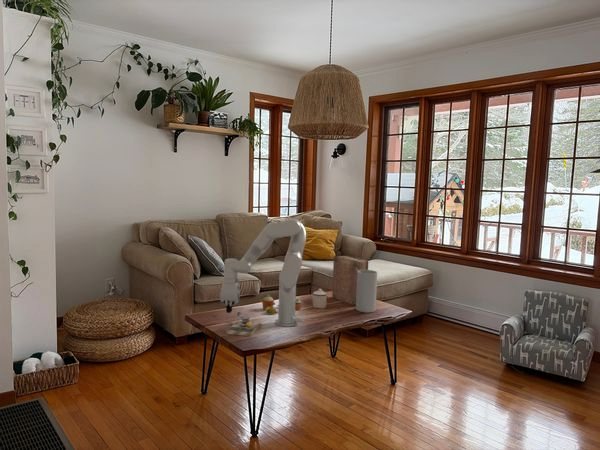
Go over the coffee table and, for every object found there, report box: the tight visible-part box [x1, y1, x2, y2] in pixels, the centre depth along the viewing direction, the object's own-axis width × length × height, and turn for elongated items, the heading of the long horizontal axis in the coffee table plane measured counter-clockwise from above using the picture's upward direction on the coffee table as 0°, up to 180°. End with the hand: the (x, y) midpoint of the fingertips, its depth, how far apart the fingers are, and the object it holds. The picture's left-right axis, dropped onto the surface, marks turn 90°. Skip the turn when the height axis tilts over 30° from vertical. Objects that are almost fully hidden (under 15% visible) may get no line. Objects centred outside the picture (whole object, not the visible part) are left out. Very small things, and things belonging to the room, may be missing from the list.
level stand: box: [225, 320, 263, 337], centre depth 250 cm, size 14×18×2 cm
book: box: [332, 254, 369, 307], centre depth 316 cm, size 25×9×30 cm, turn 35°
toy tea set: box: [259, 294, 303, 315], centre depth 290 cm, size 26×16×10 cm, turn 120°
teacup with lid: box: [310, 288, 328, 309], centre depth 301 cm, size 12×9×12 cm
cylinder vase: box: [355, 269, 378, 314], centre depth 295 cm, size 12×12×25 cm
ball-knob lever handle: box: [236, 311, 252, 328], centre depth 254 cm, size 23×6×4 cm, turn 22°
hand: (228, 312), depth 262 cm, fingers closed
